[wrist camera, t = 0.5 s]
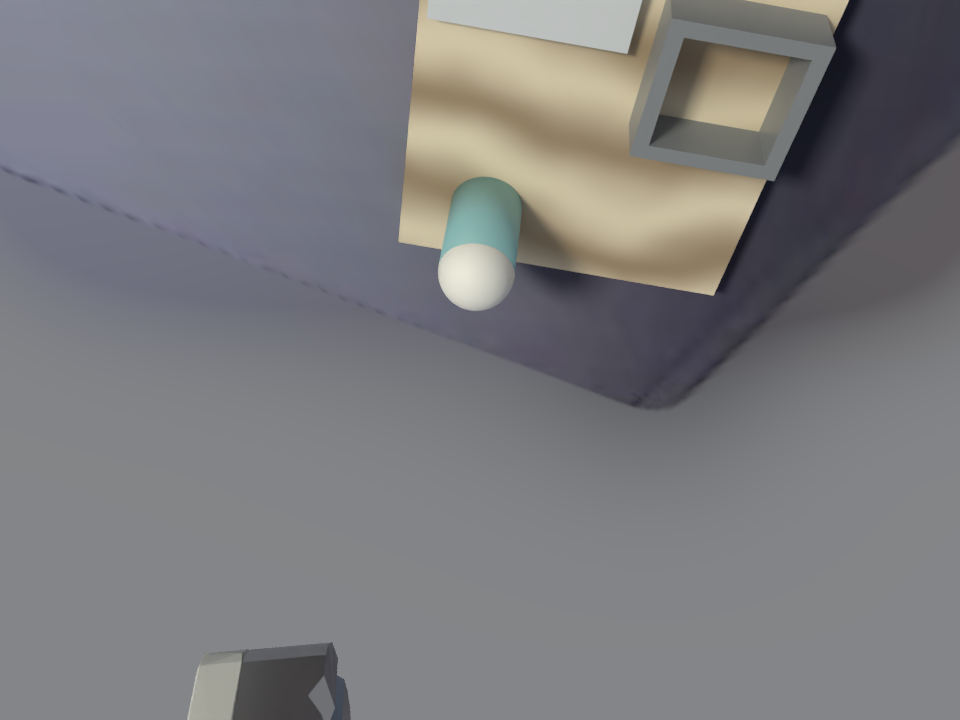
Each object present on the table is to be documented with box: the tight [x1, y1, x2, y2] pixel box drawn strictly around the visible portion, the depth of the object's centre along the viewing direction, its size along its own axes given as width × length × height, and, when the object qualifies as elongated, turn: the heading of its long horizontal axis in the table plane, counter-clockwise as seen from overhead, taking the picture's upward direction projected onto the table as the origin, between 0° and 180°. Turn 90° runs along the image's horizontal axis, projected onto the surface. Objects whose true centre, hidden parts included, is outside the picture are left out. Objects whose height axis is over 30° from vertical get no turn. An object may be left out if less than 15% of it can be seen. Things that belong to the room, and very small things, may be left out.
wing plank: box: [427, 0, 642, 54], centre depth 44 cm, size 10×3×1 cm, turn 82°
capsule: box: [438, 177, 522, 311], centre depth 52 cm, size 4×4×8 cm
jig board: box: [399, 0, 849, 295], centre depth 50 cm, size 20×20×2 cm
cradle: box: [629, 0, 836, 181], centre depth 45 cm, size 8×8×3 cm
